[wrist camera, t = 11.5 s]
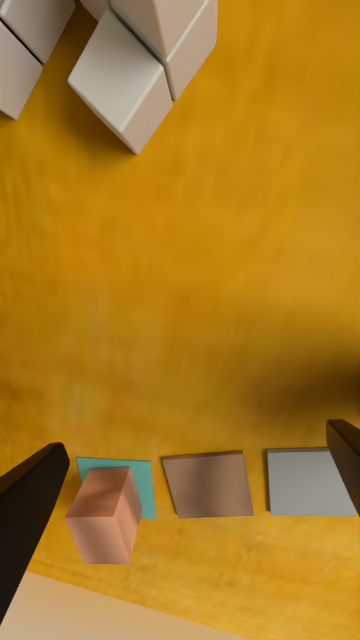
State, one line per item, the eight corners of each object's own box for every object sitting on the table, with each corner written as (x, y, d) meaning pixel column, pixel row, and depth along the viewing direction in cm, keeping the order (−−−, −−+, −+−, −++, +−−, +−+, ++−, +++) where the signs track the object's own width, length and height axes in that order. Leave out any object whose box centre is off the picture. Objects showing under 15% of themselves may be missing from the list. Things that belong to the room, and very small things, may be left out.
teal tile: (151, 454, 26) (149, 462, 25) (157, 509, 29) (155, 518, 28) (81, 450, 27) (76, 458, 26) (92, 504, 30) (88, 513, 29)
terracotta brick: (130, 466, 26) (113, 516, 21) (142, 508, 27) (129, 564, 23) (90, 468, 26) (64, 517, 22) (104, 509, 28) (83, 563, 23)
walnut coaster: (241, 445, 25) (243, 453, 24) (251, 505, 27) (253, 515, 26) (163, 452, 26) (162, 460, 25) (179, 509, 28) (178, 518, 27)
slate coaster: (354, 442, 23) (360, 450, 22) (350, 505, 25) (355, 516, 24) (265, 444, 24) (267, 452, 23) (268, 505, 26) (270, 515, 25)
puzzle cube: (-28, 79, 17) (-209, -46, 10) (63, -126, 14) (-107, -564, 6) (105, 203, 19) (36, 177, 11) (217, 44, 15) (226, -147, 8)
